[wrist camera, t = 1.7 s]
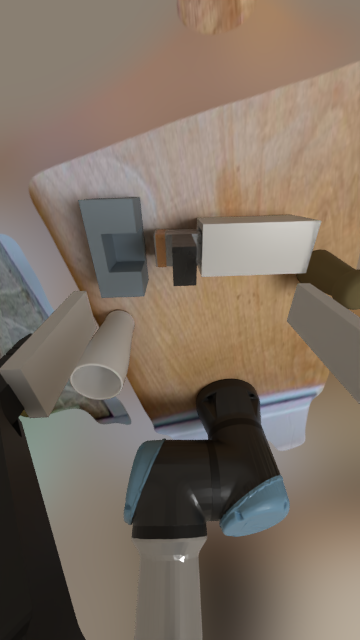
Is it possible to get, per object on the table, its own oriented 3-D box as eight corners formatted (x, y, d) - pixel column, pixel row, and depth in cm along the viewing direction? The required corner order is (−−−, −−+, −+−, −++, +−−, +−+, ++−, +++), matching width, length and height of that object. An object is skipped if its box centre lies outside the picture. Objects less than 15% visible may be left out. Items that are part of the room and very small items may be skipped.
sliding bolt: (276, 254, 32) (319, 281, 23) (157, 258, 32) (152, 287, 22) (282, 225, 30) (333, 241, 21) (155, 229, 30) (148, 247, 20)
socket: (148, 279, 36) (144, 296, 30) (112, 280, 35) (101, 297, 30) (139, 197, 29) (132, 198, 24) (96, 198, 29) (78, 200, 24)
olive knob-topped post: (294, 257, 34) (340, 282, 25) (333, 243, 33) (396, 264, 24) (297, 289, 37) (340, 322, 28) (333, 277, 36) (389, 307, 27)
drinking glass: (96, 309, 38) (58, 369, 25) (132, 301, 38) (111, 358, 25) (110, 339, 42) (83, 404, 29) (143, 332, 41) (130, 396, 28)
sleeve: (281, 258, 34) (305, 273, 28) (196, 261, 34) (201, 276, 28) (291, 214, 31) (321, 220, 25) (196, 217, 31) (203, 224, 25)
